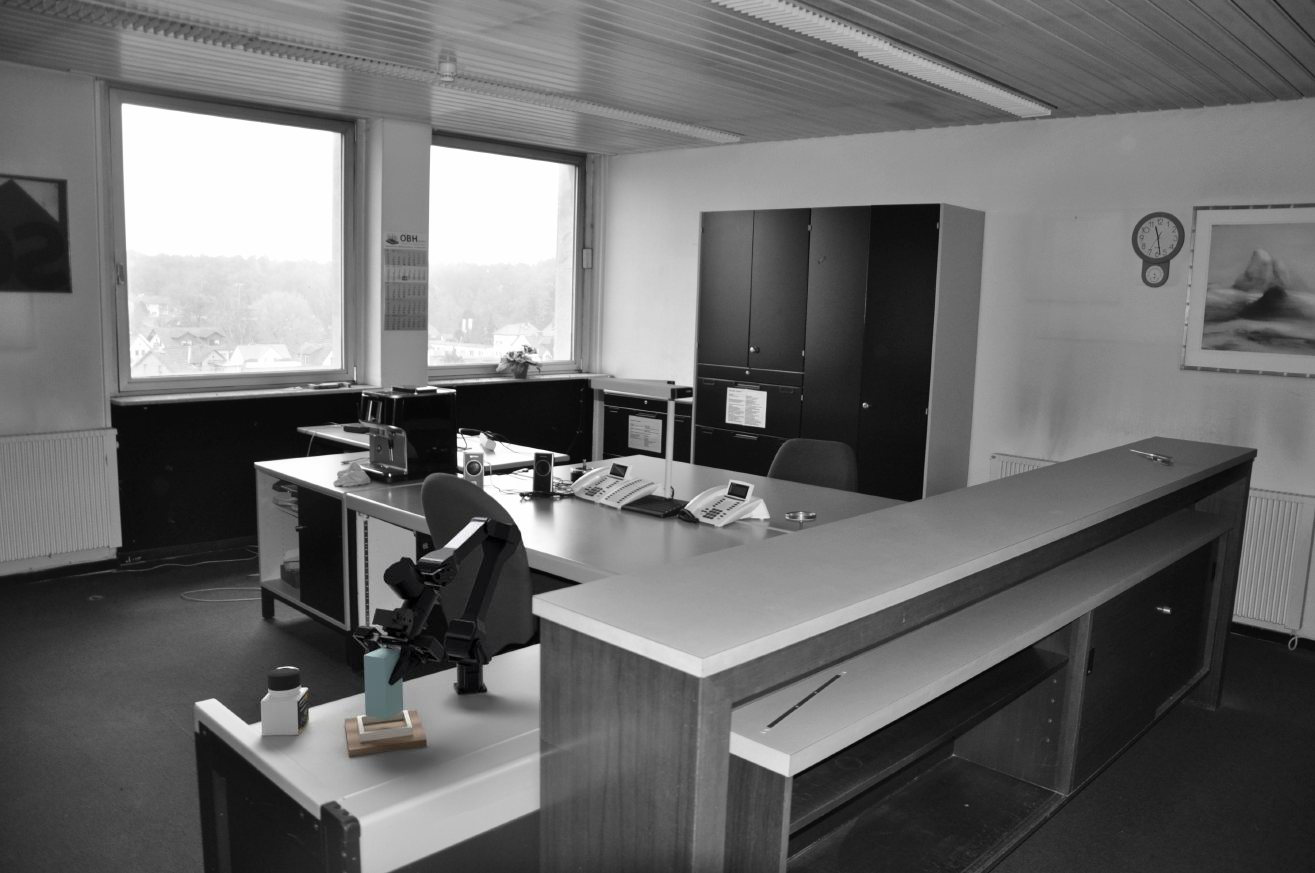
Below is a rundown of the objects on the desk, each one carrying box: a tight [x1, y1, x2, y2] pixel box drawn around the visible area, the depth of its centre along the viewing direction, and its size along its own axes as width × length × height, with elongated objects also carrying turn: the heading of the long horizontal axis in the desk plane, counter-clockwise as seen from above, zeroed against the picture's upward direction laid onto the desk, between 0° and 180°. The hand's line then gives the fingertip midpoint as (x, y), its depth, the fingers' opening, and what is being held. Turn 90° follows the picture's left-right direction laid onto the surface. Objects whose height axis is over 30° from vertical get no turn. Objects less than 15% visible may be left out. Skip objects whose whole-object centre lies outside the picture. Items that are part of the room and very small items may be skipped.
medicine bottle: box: [260, 666, 310, 737], centre depth 188 cm, size 7×7×12 cm
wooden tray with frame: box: [344, 709, 428, 757], centre depth 185 cm, size 16×14×3 cm
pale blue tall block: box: [363, 648, 404, 720], centre depth 185 cm, size 5×5×12 cm
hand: (378, 682), depth 183 cm, fingers closed on pale blue tall block, 5 cm apart
